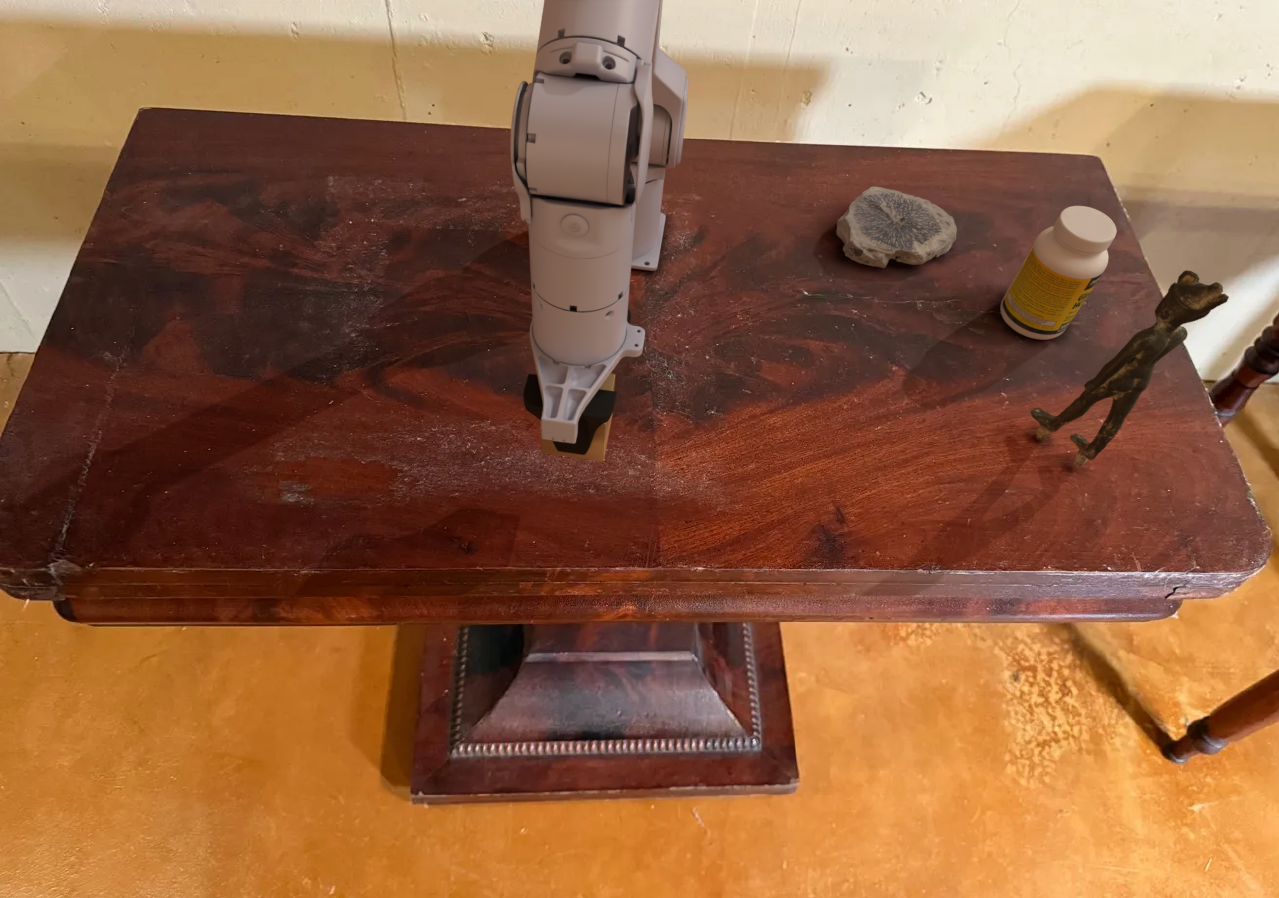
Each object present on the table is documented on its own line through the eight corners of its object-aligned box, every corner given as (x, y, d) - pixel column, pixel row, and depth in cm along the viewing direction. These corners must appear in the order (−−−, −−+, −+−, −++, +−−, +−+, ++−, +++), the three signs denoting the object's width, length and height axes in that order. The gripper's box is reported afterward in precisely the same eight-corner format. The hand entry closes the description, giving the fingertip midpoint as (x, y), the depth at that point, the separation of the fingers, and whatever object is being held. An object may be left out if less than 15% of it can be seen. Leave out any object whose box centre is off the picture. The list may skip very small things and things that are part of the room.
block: (541, 453, 62) (539, 414, 58) (553, 404, 64) (552, 364, 61) (603, 462, 62) (605, 424, 58) (612, 413, 64) (615, 373, 61)
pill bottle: (1062, 350, 80) (1125, 257, 71) (994, 330, 81) (1047, 235, 72) (1067, 305, 83) (1127, 211, 74) (1002, 286, 84) (1053, 191, 75)
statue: (1050, 410, 76) (1182, 224, 59) (1104, 465, 72) (1259, 284, 56) (1009, 428, 74) (1133, 243, 58) (1062, 485, 71) (1209, 306, 55)
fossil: (871, 261, 81) (830, 176, 84) (852, 288, 84) (813, 205, 88) (972, 249, 85) (929, 168, 88) (950, 274, 88) (909, 196, 92)
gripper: (632, 381, 47) (619, 516, 58) (663, 206, 55) (647, 352, 66) (500, 362, 47) (512, 501, 58) (551, 190, 55) (554, 339, 66)
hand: (578, 421), depth 62 cm, fingers closed on block, 4 cm apart
